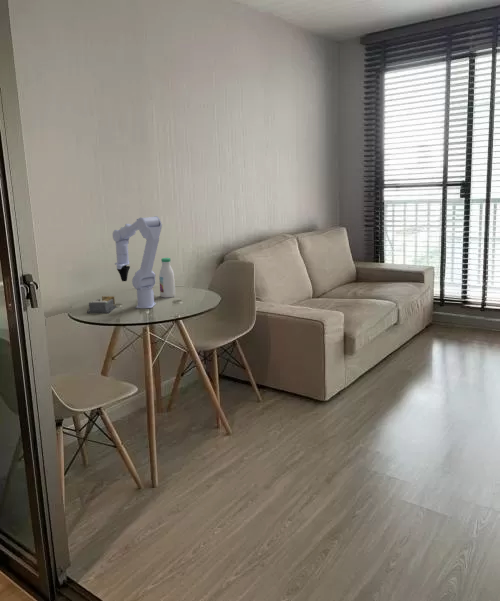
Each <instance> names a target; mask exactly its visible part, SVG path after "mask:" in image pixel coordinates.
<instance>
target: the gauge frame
mask: <svg viewBox="0 0 500 601" xmlns="http://www.w3.org/2000/svg"><path fill="white" fill-rule="evenodd" d="M95 301H101V299H100V298H97V299H95ZM88 308H89V309H88V310H87V311H86V313H87V314H110V313H111V312H112V311H114V310H115V309H116V308H117V304H113V299H110V300H109V301H107V303H106V302H92V301H91V302H88Z"/></svg>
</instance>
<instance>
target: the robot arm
mask: <svg viewBox="0 0 500 601" xmlns="http://www.w3.org/2000/svg"><path fill="white" fill-rule="evenodd" d="M119 228H120V229H114V230H113V231H112V239H113V241H114V242H115V251H116V252H115V253H116V262H115V263H114V265H116V270H117V272H118V273H119V276H120V279H121V282H127V281H128V276H129V271H130V268H131V265H130V258H129V244H130V243H129V240H130V238H131V237H133V236H134V235H136V232H137V231H139V233H140V234H141V236H142V238H144V239H146V242H145V246H144V250H143V256H142V260H141V263H140V268H138V270H137V271H136V272H135V273H134V276H133V277H132V280H131V282H132V283H131V284H132V286H133V288H134V289H135V290H136V297H137V301H136V302H137V305H136V306H135V307H134V308H135V309H152V308H154V306H155V305H156V304H157V303H156V302H155V295H154V294H155V293H154V289H153V288H154V286H155V284H156V273H155V272H154V270H153V267H154V262H155V258H156V254H157V251H158V246H159V241H160V236H161V231H162V228H163V224H162V221H161V219H160V217H159V216H150V217H149V216H147V217H138V218H136V220H135V221H134V222H133V223H132V224H131V223H125V224H124V226H122V227H119Z"/></svg>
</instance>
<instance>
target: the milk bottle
mask: <svg viewBox="0 0 500 601" xmlns="http://www.w3.org/2000/svg"><path fill="white" fill-rule="evenodd" d="M160 267H161V268H160V269H159V275H158V276H159V292H160V294H159V295H160V297H161V298H173V297H176V284H175V283H176V282H175V279H176V278H175V272H174V269H173V267H172V266H171V257H170V258H169V257H163V258H161V266H160Z"/></svg>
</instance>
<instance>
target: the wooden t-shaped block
mask: <svg viewBox="0 0 500 601" xmlns="http://www.w3.org/2000/svg"><path fill="white" fill-rule="evenodd" d="M115 297H116V296H115V295H113V296H112V295H108V296H107V295H103V296H101V301H109V300H110V299H113V304H114V305H116V300H115Z"/></svg>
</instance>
